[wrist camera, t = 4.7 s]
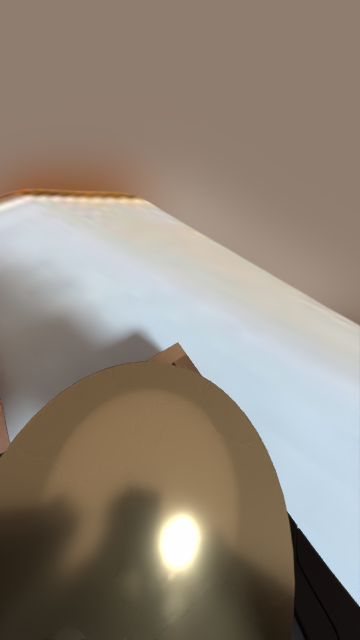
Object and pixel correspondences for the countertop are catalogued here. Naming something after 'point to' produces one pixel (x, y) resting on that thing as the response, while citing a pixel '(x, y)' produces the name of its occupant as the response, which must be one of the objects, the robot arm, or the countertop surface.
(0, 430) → the terracotta tile
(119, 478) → the silver and gold cylinder
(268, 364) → the countertop surface
